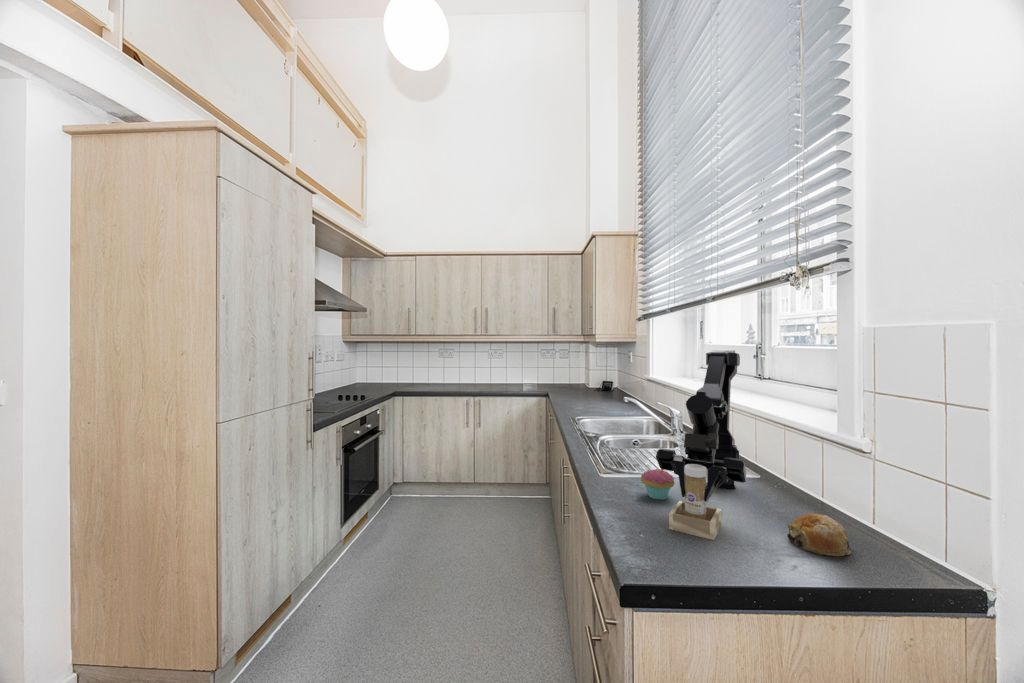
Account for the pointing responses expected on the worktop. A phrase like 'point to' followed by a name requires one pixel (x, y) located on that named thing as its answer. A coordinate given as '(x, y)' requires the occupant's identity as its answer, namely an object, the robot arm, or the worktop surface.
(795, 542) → the bread roll
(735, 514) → the worktop surface
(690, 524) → the box
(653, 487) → the cupcake
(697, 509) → the sprinkles bottle
